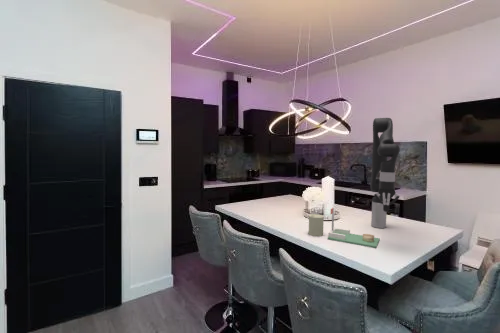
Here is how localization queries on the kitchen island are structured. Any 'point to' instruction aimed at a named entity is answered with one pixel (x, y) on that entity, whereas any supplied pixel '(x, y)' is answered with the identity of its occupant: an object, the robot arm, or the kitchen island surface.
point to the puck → (368, 238)
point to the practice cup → (337, 230)
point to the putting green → (357, 240)
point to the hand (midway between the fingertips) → (386, 211)
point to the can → (316, 225)
